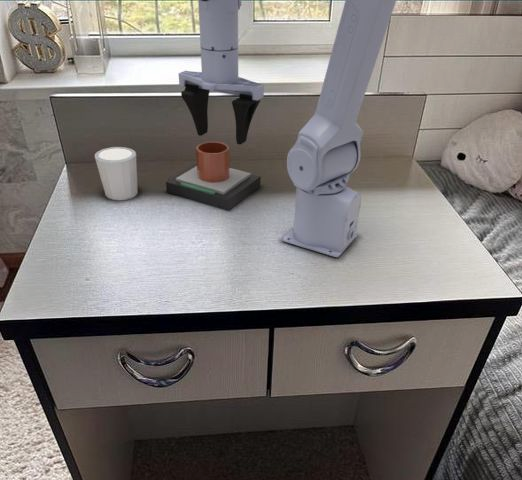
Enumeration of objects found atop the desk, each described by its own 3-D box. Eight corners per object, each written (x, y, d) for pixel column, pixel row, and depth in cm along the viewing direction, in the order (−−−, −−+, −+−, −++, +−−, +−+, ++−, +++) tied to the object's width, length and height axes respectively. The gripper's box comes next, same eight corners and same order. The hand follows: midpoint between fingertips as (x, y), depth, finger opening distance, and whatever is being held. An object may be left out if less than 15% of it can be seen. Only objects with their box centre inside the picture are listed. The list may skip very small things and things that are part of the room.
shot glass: (94, 197, 91) (86, 158, 86) (114, 182, 96) (108, 143, 91) (129, 204, 89) (123, 164, 85) (148, 188, 94) (143, 149, 89)
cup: (235, 173, 94) (235, 145, 90) (218, 185, 90) (217, 156, 86) (209, 166, 96) (208, 139, 92) (191, 177, 92) (189, 149, 88)
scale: (260, 186, 96) (260, 173, 94) (228, 210, 89) (228, 196, 87) (201, 171, 100) (200, 157, 99) (166, 192, 93) (165, 178, 91)
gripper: (164, 45, 79) (172, 137, 88) (248, 59, 74) (248, 154, 83) (190, 37, 83) (195, 124, 92) (271, 49, 79) (268, 140, 88)
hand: (221, 138), depth 88 cm, fingers open, 7 cm apart
